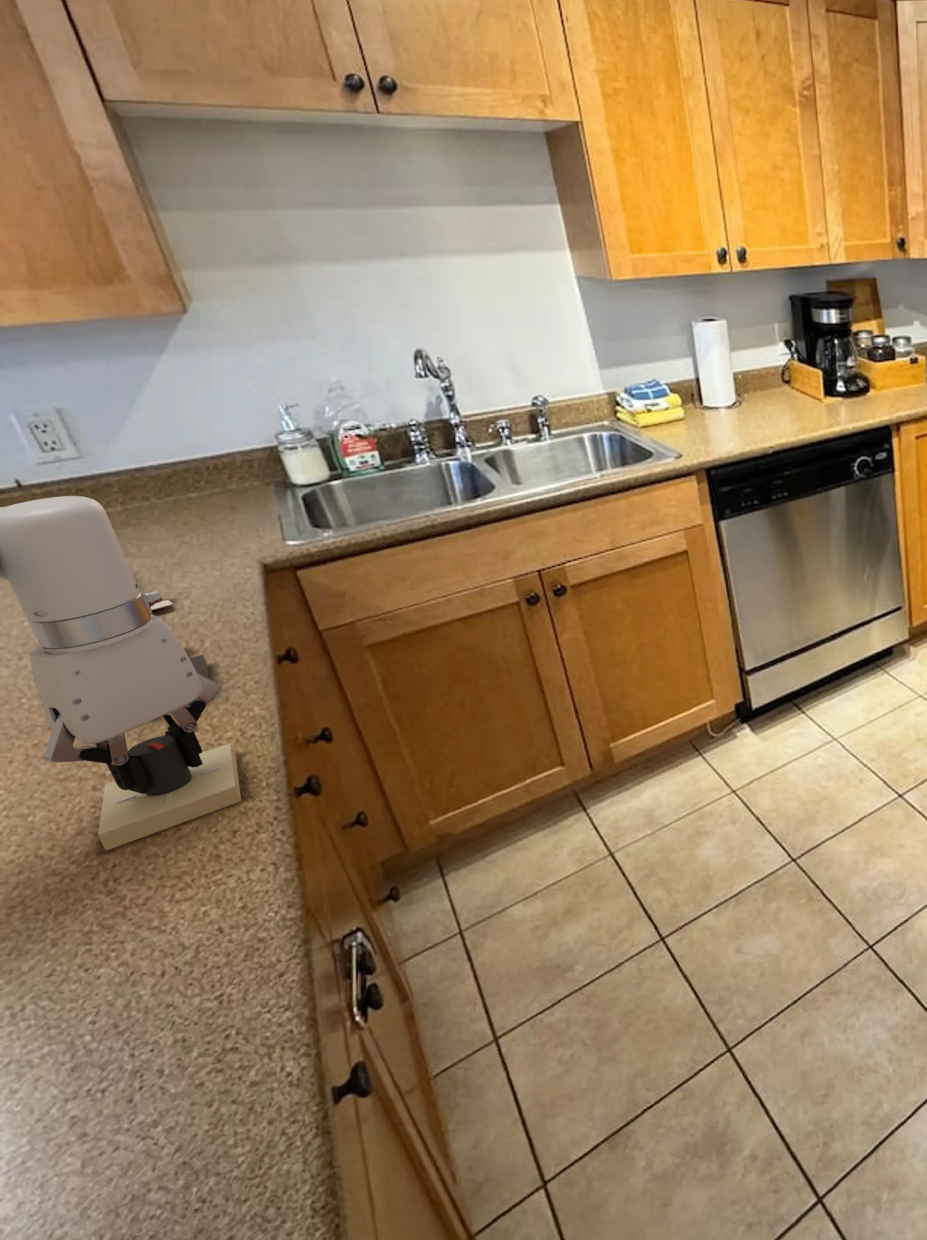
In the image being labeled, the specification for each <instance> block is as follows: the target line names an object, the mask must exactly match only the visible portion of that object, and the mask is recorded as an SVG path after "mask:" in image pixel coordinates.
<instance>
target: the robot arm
mask: <svg viewBox="0 0 927 1240" xmlns="http://www.w3.org/2000/svg"><path fill="white" fill-rule="evenodd" d="M118 539H119V538H118V537H117V534H116V532H115V530H114V527H113V525H112V522H111V521H110V519H109V516H108V514H107V512H106V510H105V508H104V507H103V505H102V504H101V503H99V502H98V501H97V500H95V499H93V498H91V497H87V496H80V495H64V496H63V495H62V496H54V497H46V498H39V499H33V500H28V501H22V502H19V503H14V504H11V505H7V506H1V507H0V579H3V580H6V581H8V583H9V585H10V587H11V589H12V591H13V593H14V595H15V598H16V599H17V601H18V603H19V605H20V607H21V609H22V611H23V614H24V615H25V618H26V620H27V622H28V624H29V626H30V627H31V629H32V631H33V634H34V635H35V638H36V640H37V642H38V644H39V647H38V648H35V649H33V650H31V651H30V652H29V661H30V667H31V668H30V669H31V674H32V677H33V681H34V686H35V689H36V692H37V695H38V698H39V701H40V704H41V707H42V710H43V712H44V715H45V718H46V720H47V721H48V722H47V723H48V725H49V727H50V729H51V733H50V735H49V738H48V742H47V745H46V747H45V749H44V750H45V751H44V754H43V759H44V760H46V761H48V762H52V763H68V762H69V763H71V762H72V763H75V762H81V761H82V762H85V761H86V762H92V763H99V764H106V765H107V768H108V770H109V772H110V774H111V776H112V778H113V781H115V782H116V784H117V786H118V787H119V788H120V789H122V790H130V791H134V792H137V793H141V794H145V793H147V792H149V791H150V789H152V787H151V785H150V782H149V780H148V778H147V776H146V774H145V772H144V770H143V768H142V765H141V763H140V761H139V760H138V759H136V758H133V757H131V756H130V754H129V753H128V750H129V749H128V745H127V741H126V735H125V733H126V732H130V731H132V730H134V729H136V728H138V727H140V726H143V725H146V724H148V723H150V722H152V721H154V720H156V719H159V718H161V720H162V721H163V722H164V724H165V725H166V727H167V730H166V731H164V735H163V736H168V735H169V736H174V737H175V739H176V741H177V743H178V745H179V748H180V750H181V752H182V754H183V757H184V759H185V761H186V763H187V765H188V766H189V767H193V768H194V767H198V766H200V765H202V764H203V763H202V760H201V758H200V756H199V754H200V753H202V752H203V749H202V746H201V745H200V742H199V740H198V738H197V735H196V733H195V731H196V730H197V729H198V726H199V724H198V721H199V719H200V717H201V716H202V714H203V712H204V711H205V709H206V707H207V704H208V703H210V702H211V701H212V700H213V698H214V697H215V696H216V695H217V694H218V693H219V692H220V691H221V689H222V686H221V684H219V683H217V682H216V681H214V680H211V679H210V678H209V679H207V678H206V677H204V676H202V675H200V674H198V673H197V672H196V670H195V668H194V666H193V664H192V663H191V661H190V659H189V658H190V657H189V655H188V653H187V652H186V650H185V648H184V647H183V646H182V644H181V643H180V641H179V640H178V638H177V637H176V636H175V634H174V632H172V630H171V629H170V628H169V626H168V625H167V624H166V623H165V621H164V620H163V619H162V618H161V617H160V616H158V615H154V613H153V610H151V606H154V604H156V603H159V602H162V601H164V600H163V597H162V594H161V593H160V592H159V591H157V590H154V589H153V590H152V591H151V590H150V591H148V592H147V591H142V590H140V588H139V585H138V583H137V581H136V578H135V576H134V574H133V572H132V569H131V567H130V565H129V563H128V560H127V558H126V555H125V553H124V551H123V548H122V546H121V543H120V542H119V540H118ZM186 653H187V654H186ZM75 739H77V741H78V742H79V743H80V744H82V745H81V746H74V742H75ZM88 745H93V746H88Z"/></svg>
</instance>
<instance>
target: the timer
mask: <svg viewBox="0 0 927 1240" xmlns="http://www.w3.org/2000/svg"><path fill="white" fill-rule="evenodd" d="M199 756H200V758H201V760H202V763H203V764H202V765H200V766H198V767H194V768H193V767H189V766H188V768H189V770H190V772H191V774H192V779H191V780H190V781H189V782H188V783H187V784H185V785H184V786H182V787H180V788H178V789H176V790H174V791H171V792H168V793H165V794H161V795H156V796H149V795H146V794H141V793H137V792H134V791H130V790H122V789H120V788H119V787H118V786H117V784H116V782H115V780H113V781H110V782H107V783H105V784H104V787H103V788H104V789H103V795H102V802H101V810H100V817H99V825H98V830H97V837H98V839H99V840H100V842H101V845H102V847H103V849H104V851H109V850H112V849H114V848H117V847H120V846H123V845H126V844H127V843H131V842H134V841H136V840H139V839H141V838H144V837H148V836H149V835H153V834H156V833H158V832H161V831H163V830H166V829H170V828H172V827H174V826H177V825H180V824H183V823H186V822H188V821H191V820H193V819H196V818H199V817H201V816H205V815H207V814H210V813H213V812H216V811H218V810H221V809H224V808H226V807H229V806H231V805H234V804H237V803H241V801H242V796H241V788H240V781H239V779H240V778H239V771H238V763H237V756H236V754H235V752H234V749H233V746H232V745H231V743H227V744H223V745H220V746H217V747H215V748H211V749H208V750H206V751H202V753H200V754H199Z"/></svg>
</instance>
